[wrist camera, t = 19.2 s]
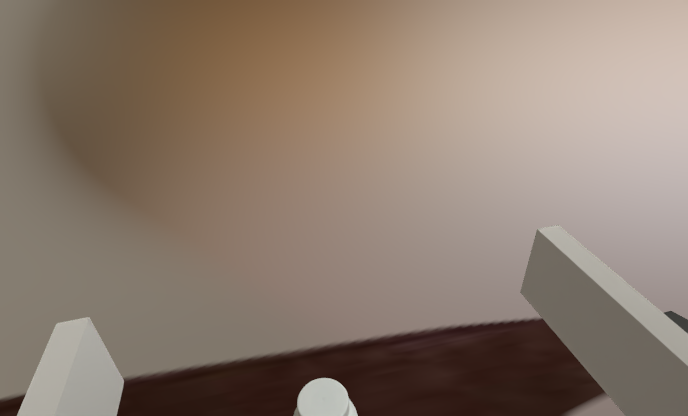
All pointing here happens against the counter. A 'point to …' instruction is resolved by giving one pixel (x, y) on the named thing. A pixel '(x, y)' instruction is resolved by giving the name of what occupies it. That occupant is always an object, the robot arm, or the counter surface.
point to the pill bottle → (324, 399)
